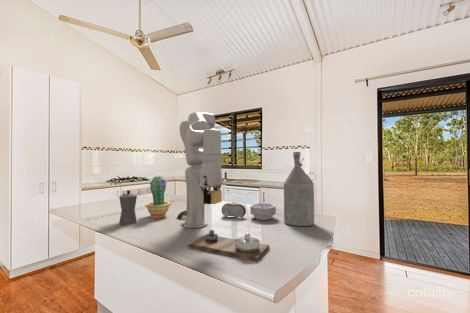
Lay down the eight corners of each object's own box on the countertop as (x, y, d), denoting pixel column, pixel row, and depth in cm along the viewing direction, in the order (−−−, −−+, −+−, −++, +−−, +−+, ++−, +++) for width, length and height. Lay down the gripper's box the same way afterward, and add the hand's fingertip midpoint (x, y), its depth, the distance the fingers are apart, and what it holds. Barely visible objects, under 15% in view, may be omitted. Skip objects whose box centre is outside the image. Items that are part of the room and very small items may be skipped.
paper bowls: (247, 220, 134) (247, 206, 134) (253, 214, 149) (253, 202, 149) (274, 222, 130) (274, 208, 130) (277, 216, 144) (277, 203, 144)
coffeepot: (141, 223, 126) (141, 190, 127) (123, 227, 120) (123, 192, 120) (131, 218, 138) (131, 188, 138) (113, 221, 131) (114, 189, 131)
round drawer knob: (203, 241, 94) (203, 230, 94) (209, 237, 99) (209, 227, 99) (213, 243, 92) (213, 232, 92) (219, 239, 96) (219, 228, 97)
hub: (231, 250, 84) (231, 234, 84) (241, 243, 92) (241, 228, 92) (254, 255, 80) (254, 238, 80) (262, 246, 88) (262, 231, 88)
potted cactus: (143, 220, 134) (144, 177, 135) (146, 214, 149) (146, 175, 150) (171, 218, 138) (171, 176, 139) (171, 213, 153) (171, 175, 154)
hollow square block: (201, 202, 95) (201, 191, 95) (209, 200, 100) (209, 190, 100) (213, 204, 92) (214, 192, 92) (221, 201, 97) (221, 191, 97)
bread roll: (189, 214, 149) (189, 207, 149) (202, 217, 141) (202, 209, 142) (172, 218, 139) (173, 210, 140) (185, 222, 132) (186, 213, 132)
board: (188, 247, 91) (188, 243, 91) (206, 237, 103) (206, 234, 103) (257, 261, 78) (256, 257, 78) (269, 248, 90) (269, 245, 90)
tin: (246, 217, 141) (245, 203, 141) (244, 219, 138) (244, 204, 138) (222, 216, 145) (222, 202, 145) (220, 217, 142) (221, 203, 142)
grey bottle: (316, 228, 118) (315, 151, 120) (282, 225, 124) (281, 151, 125) (316, 222, 130) (315, 152, 131) (285, 219, 136) (284, 152, 137)
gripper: (215, 159, 106) (214, 198, 105) (191, 159, 90) (191, 205, 90) (229, 159, 102) (229, 200, 102) (208, 159, 87) (207, 207, 87)
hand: (211, 202), depth 96 cm, fingers closed on hollow square block, 5 cm apart
